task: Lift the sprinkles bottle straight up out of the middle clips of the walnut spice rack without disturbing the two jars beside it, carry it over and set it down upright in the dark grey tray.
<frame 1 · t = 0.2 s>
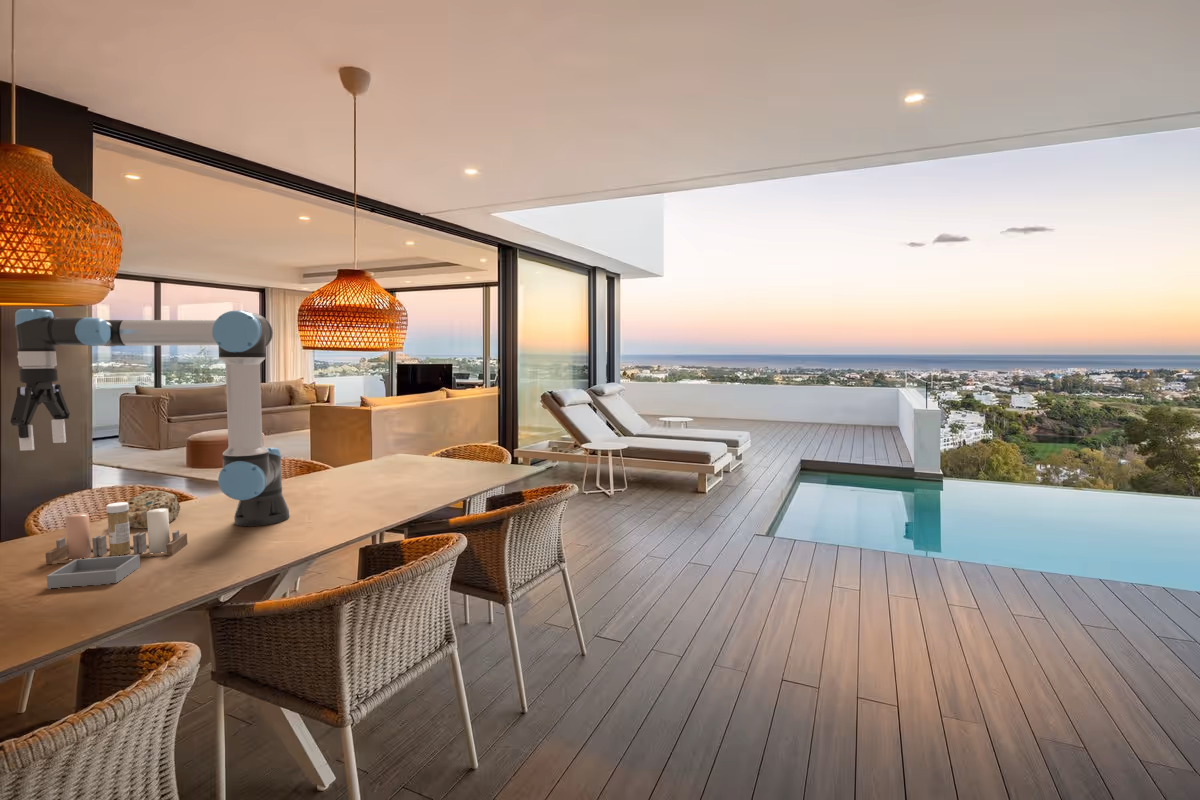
hand: (44, 446, 162), 28 cm above the table, tool pointing down, fingers open, 13 cm apart
cream jar: (159, 551, 160), resting in rack
terracotta jar: (80, 556, 156), resting in rack
sprinkles bottle: (120, 554, 158), resting in rack
tray: (96, 577, 142), on the table
rack: (120, 553, 158), on the table
rock: (149, 522, 189), on the table
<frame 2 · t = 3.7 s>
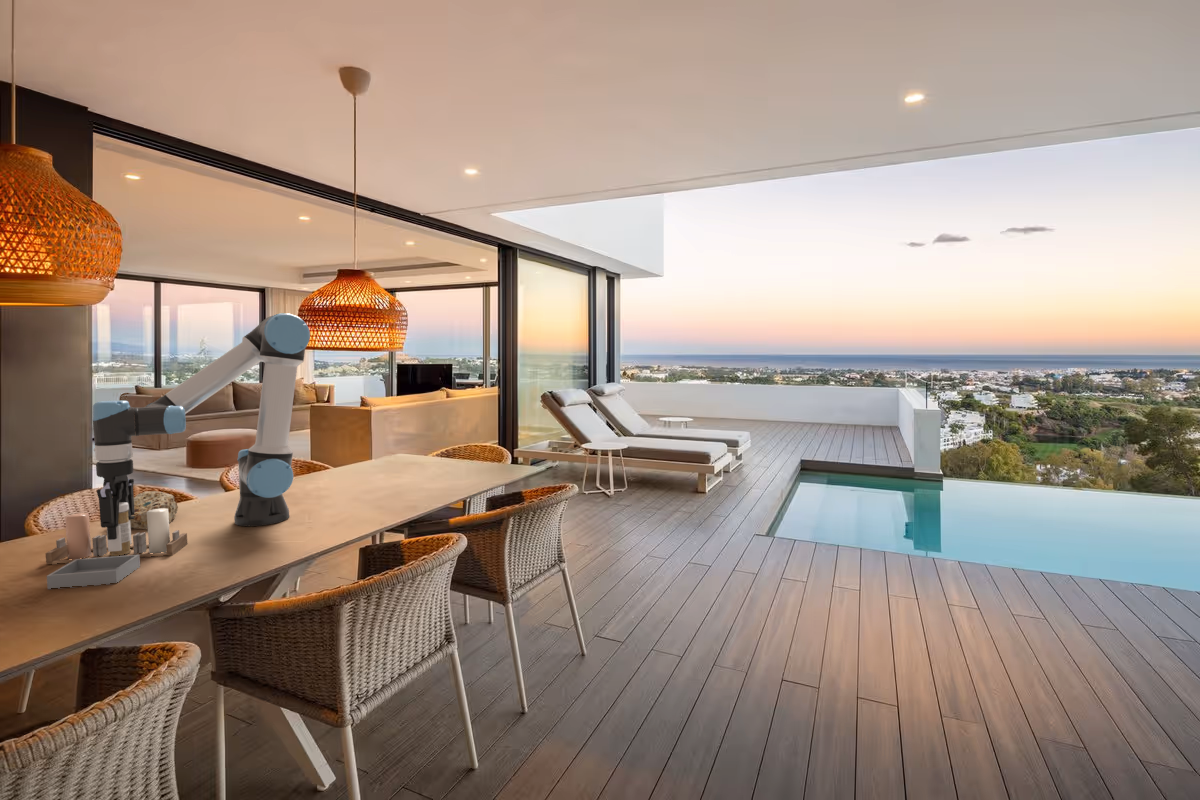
hand: (120, 547, 158), 2 cm above the table, tool pointing down, fingers closed on sprinkles bottle, 4 cm apart
sprinkles bottle: (120, 554, 158), resting in rack, touching gripper
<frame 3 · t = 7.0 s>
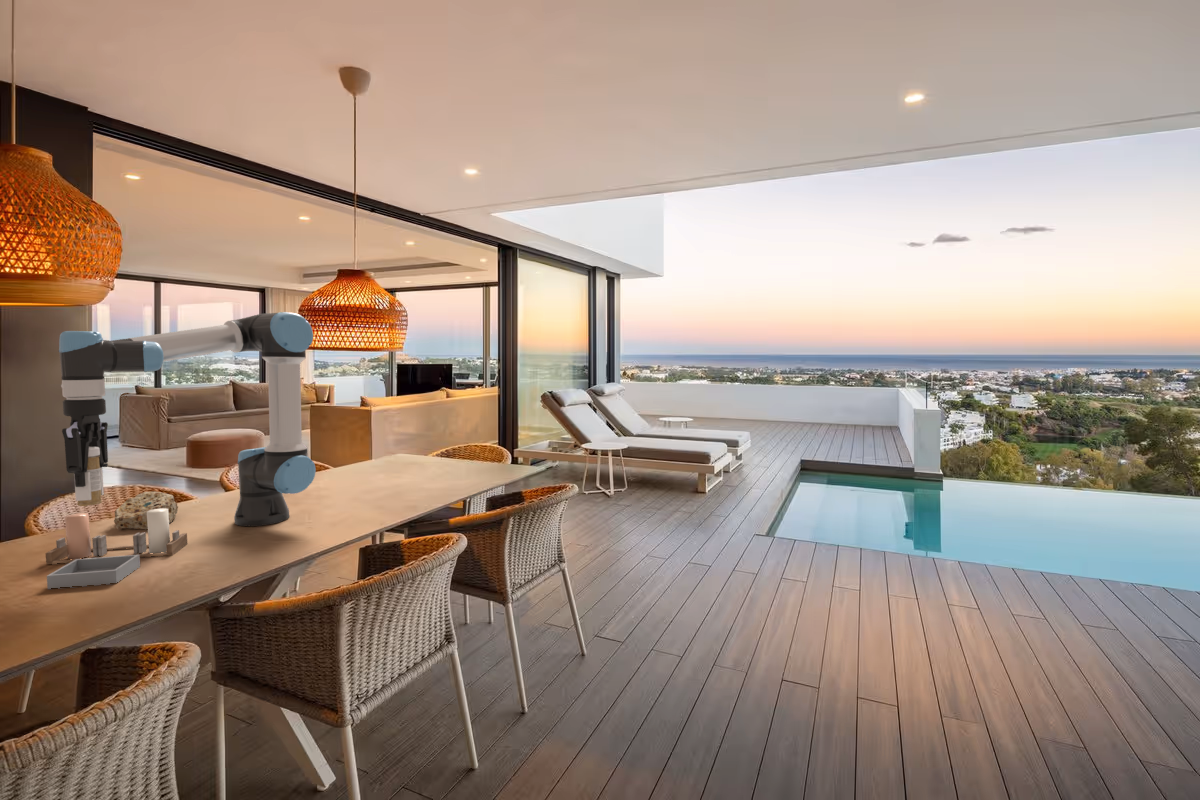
hand: (90, 497, 141), 19 cm above the table, tool pointing down, fingers closed on sprinkles bottle, 4 cm apart
sprinkles bottle: (90, 505, 141), point 17 cm above the table, touching gripper
when the fingers open (4 cm above the table, at t = 10.2 s): sprinkles bottle drops 1 cm, resting on tray.
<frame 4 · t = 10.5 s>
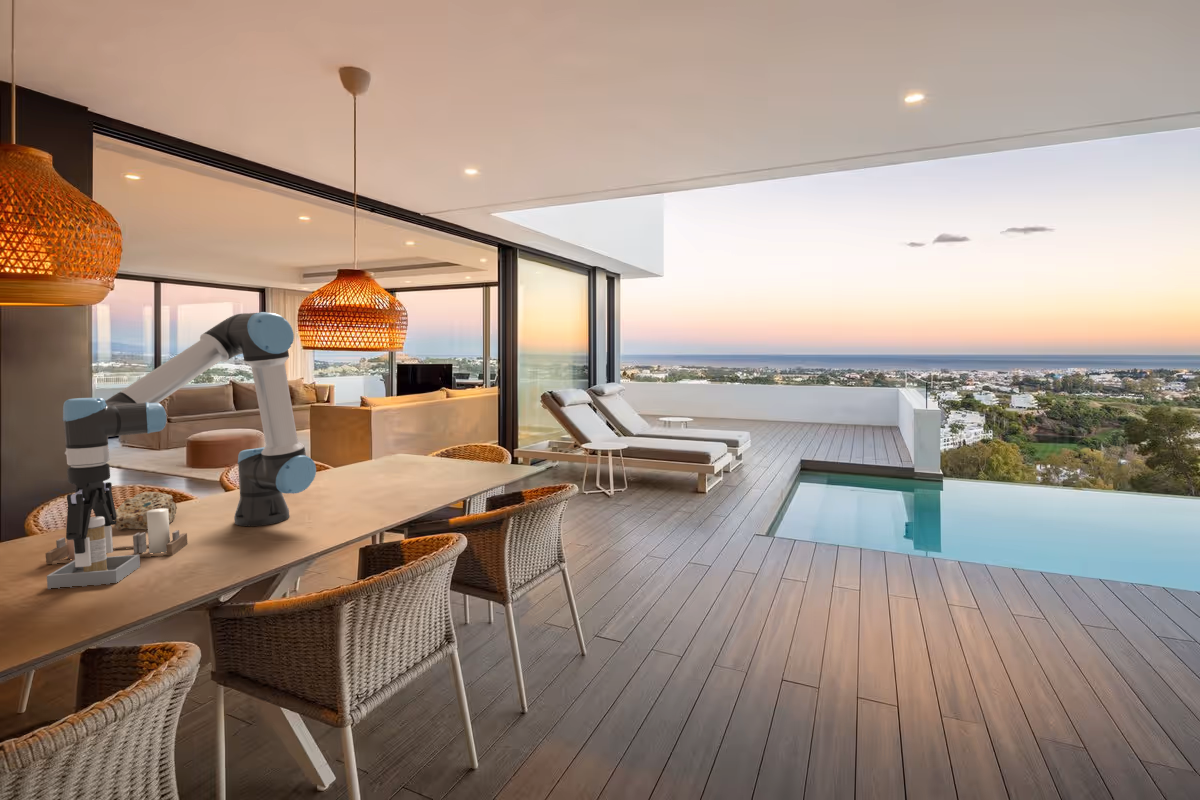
hand: (95, 559, 141), 4 cm above the table, tool pointing down, fingers open, 9 cm apart
sprinkles bottle: (96, 575, 142), point 1 cm above the table, touching tray
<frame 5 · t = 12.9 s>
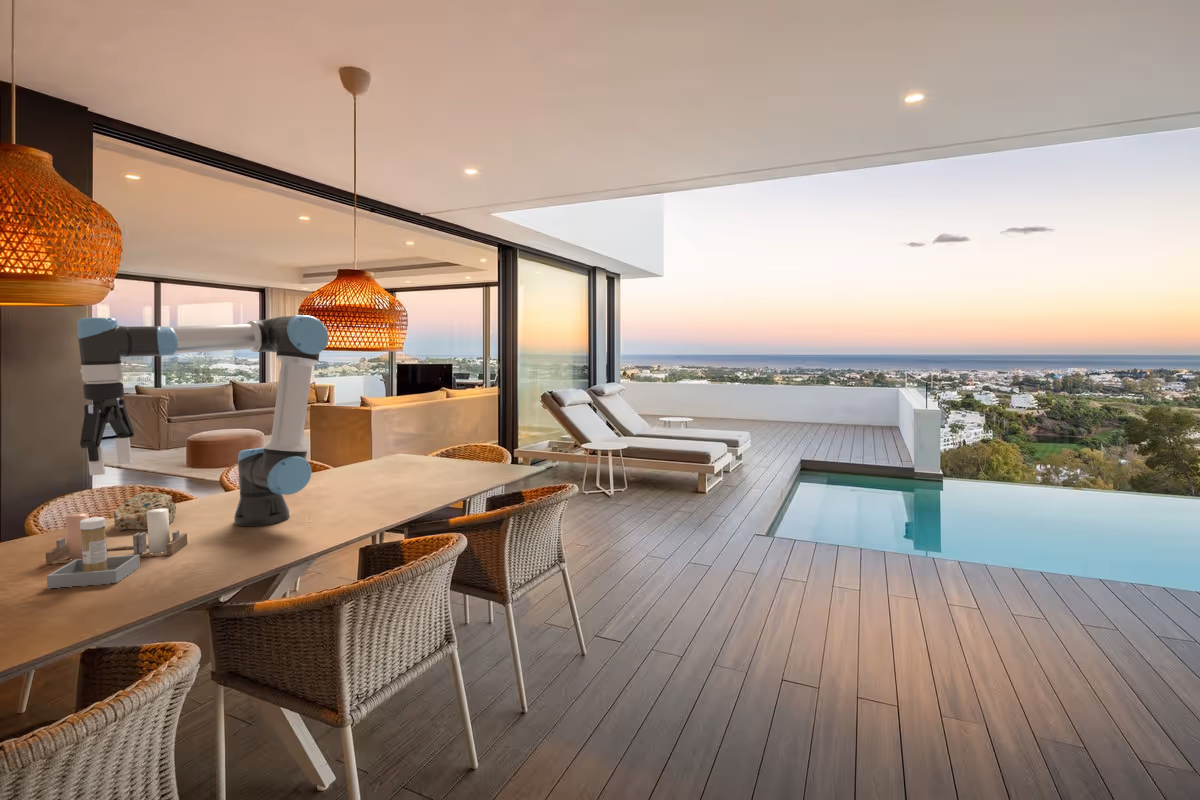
hand: (111, 468, 147), 24 cm above the table, tool pointing down, fingers open, 13 cm apart
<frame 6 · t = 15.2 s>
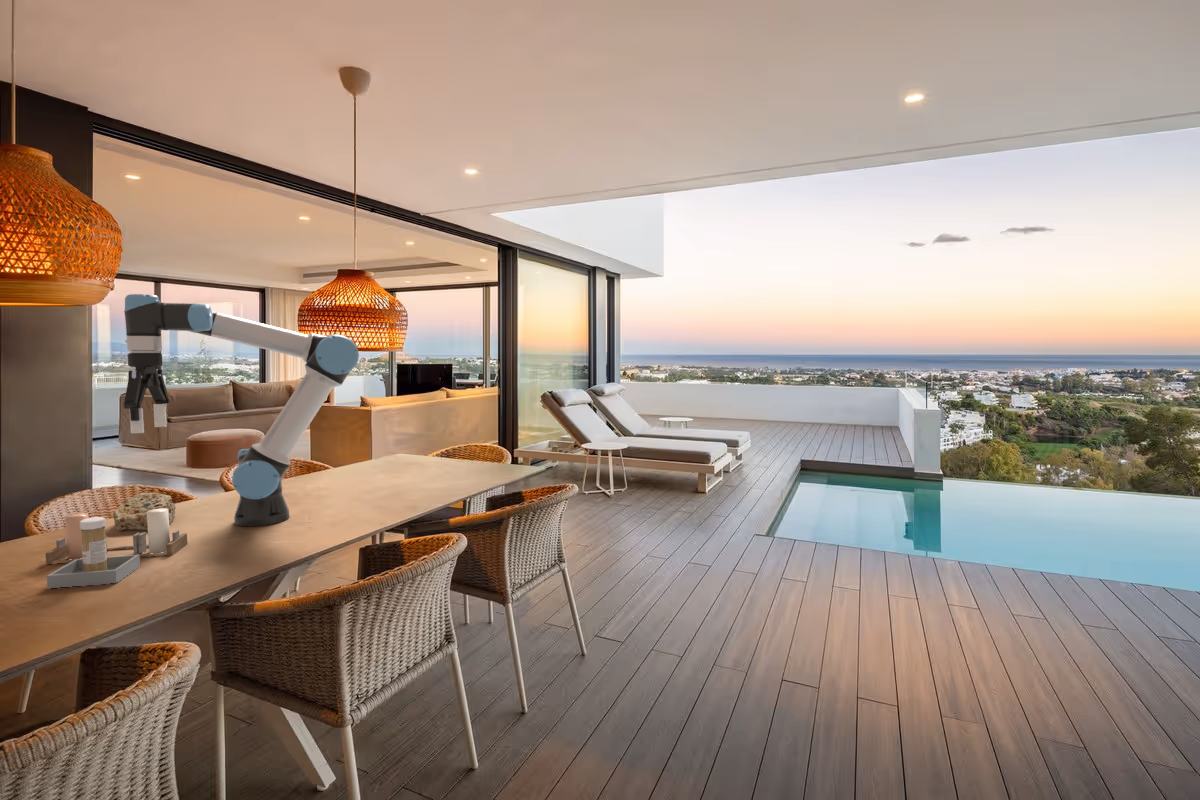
hand: (149, 430, 165), 32 cm above the table, tool pointing down, fingers open, 13 cm apart
at the end: sprinkles bottle inside the target area on the tray (0.0 cm from its centre), point 0.4 cm above the tray's base; sprinkles bottle tilted 0°; cream jar moved 0.0 cm from its start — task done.
